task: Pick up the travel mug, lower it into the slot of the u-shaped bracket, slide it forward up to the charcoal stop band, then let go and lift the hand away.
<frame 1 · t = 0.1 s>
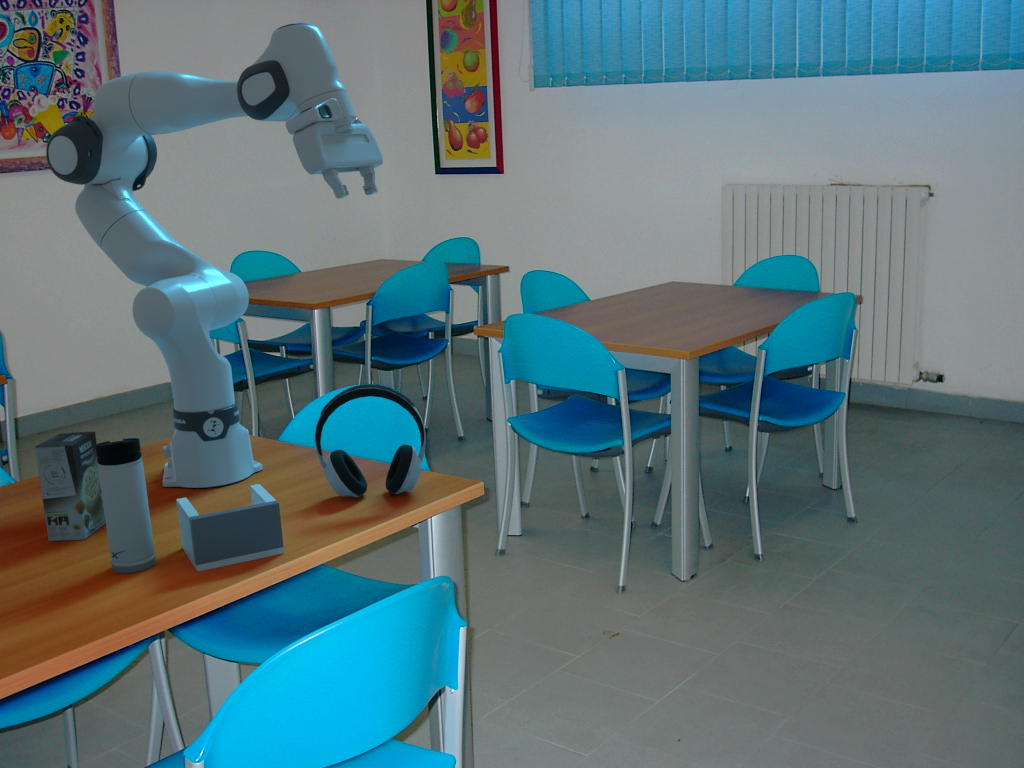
hand: (358, 195, 182), 52 cm above the table, tool tilted 20°, fingers open, 8 cm apart
u-shaped bracket: (232, 550, 168), on the table
headphones: (375, 496, 191), on the table
travel mug: (134, 567, 163), on the table
coffee box: (79, 532, 181), on the table
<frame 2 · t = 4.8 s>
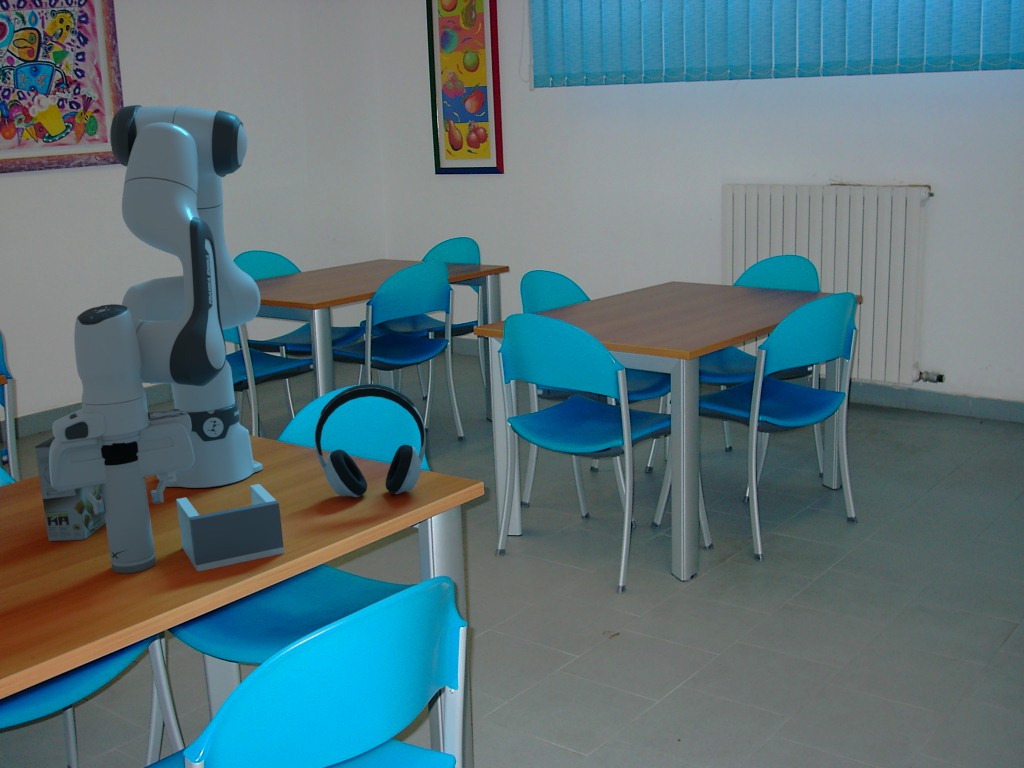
hand: (129, 507, 161), 9 cm above the table, tool pointing down, fingers open, 7 cm apart
travel mug: (134, 567, 163), on the table, touching gripper
everything else where it was.
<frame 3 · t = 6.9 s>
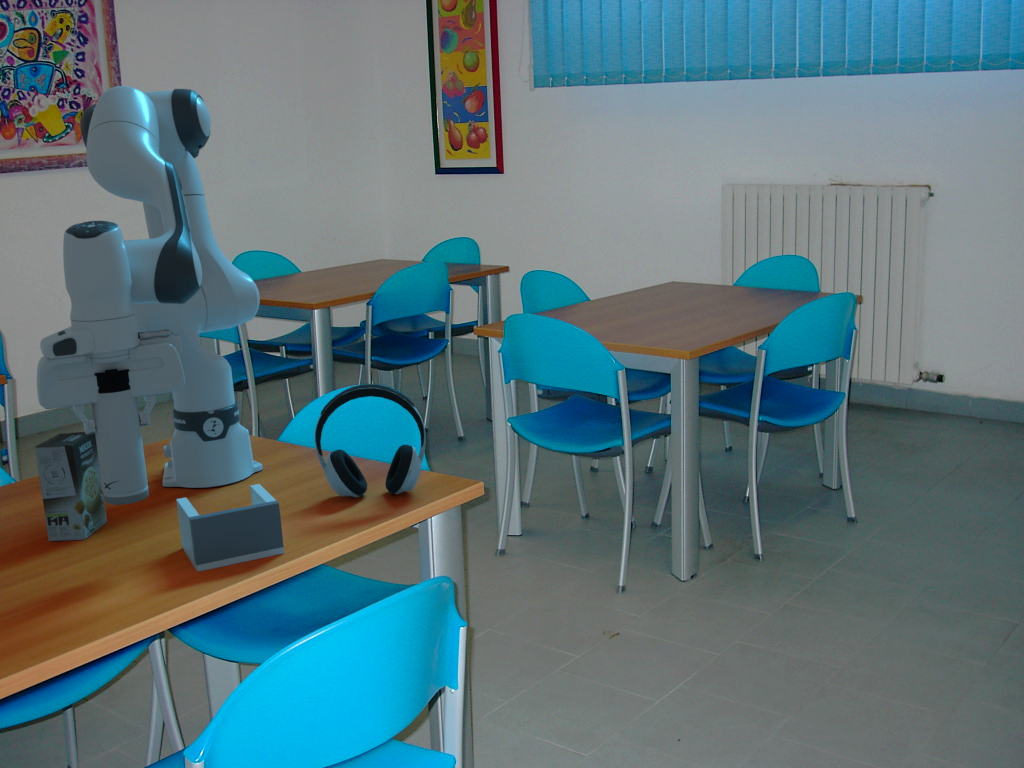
hand: (118, 428, 159), 21 cm above the table, tool pointing down, fingers closed on travel mug, 6 cm apart
travel mug: (127, 500, 161), point 10 cm above the table, touching gripper
everything else where it was.
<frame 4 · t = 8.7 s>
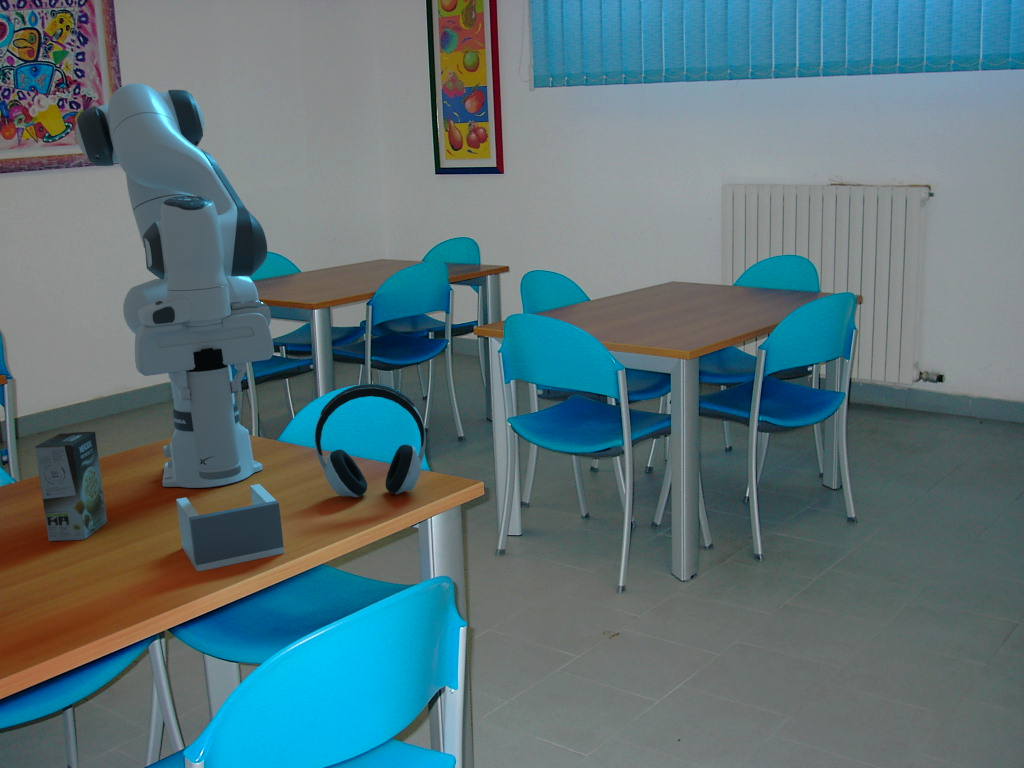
hand: (210, 396, 165), 24 cm above the table, tool pointing down, fingers closed on travel mug, 6 cm apart
travel mug: (220, 476, 168), point 11 cm above the table, touching gripper
everything else where it was.
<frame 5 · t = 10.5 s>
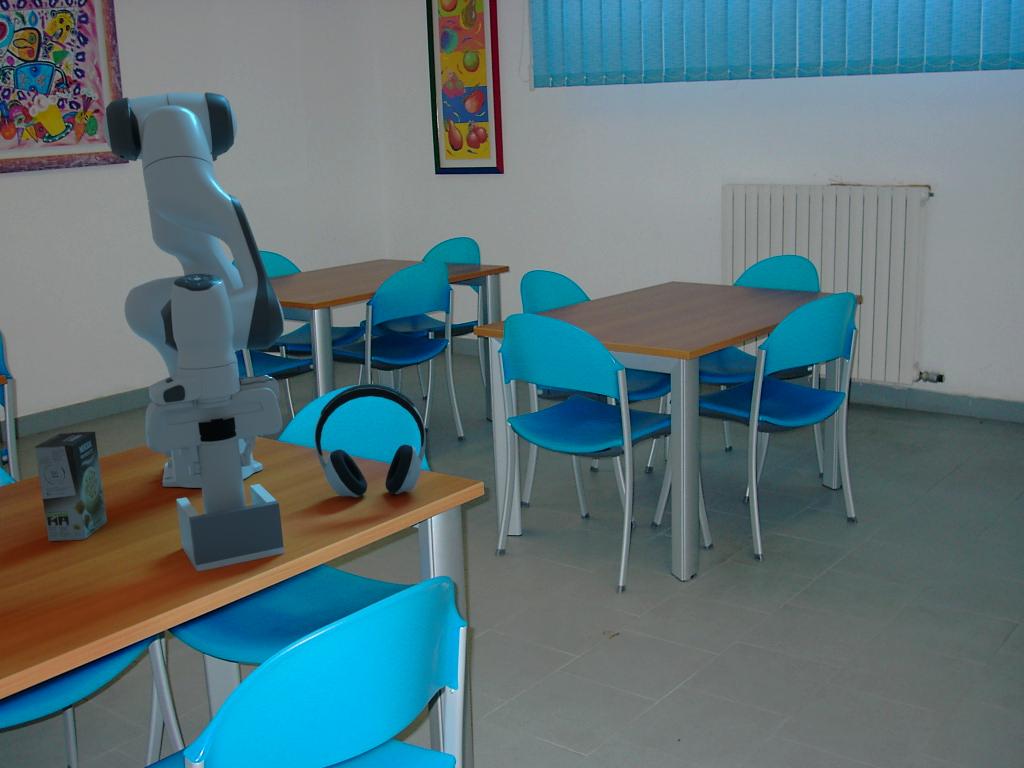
hand: (220, 470, 168), 12 cm above the table, tool pointing down, fingers closed on travel mug, 6 cm apart
travel mug: (229, 541, 170), point 1 cm above the table, touching u-shaped bracket, gripper
everything else where it was.
when the fingers open (11 cm above the table, at t = 12.2 s): travel mug stays where it is, resting on u-shaped bracket.
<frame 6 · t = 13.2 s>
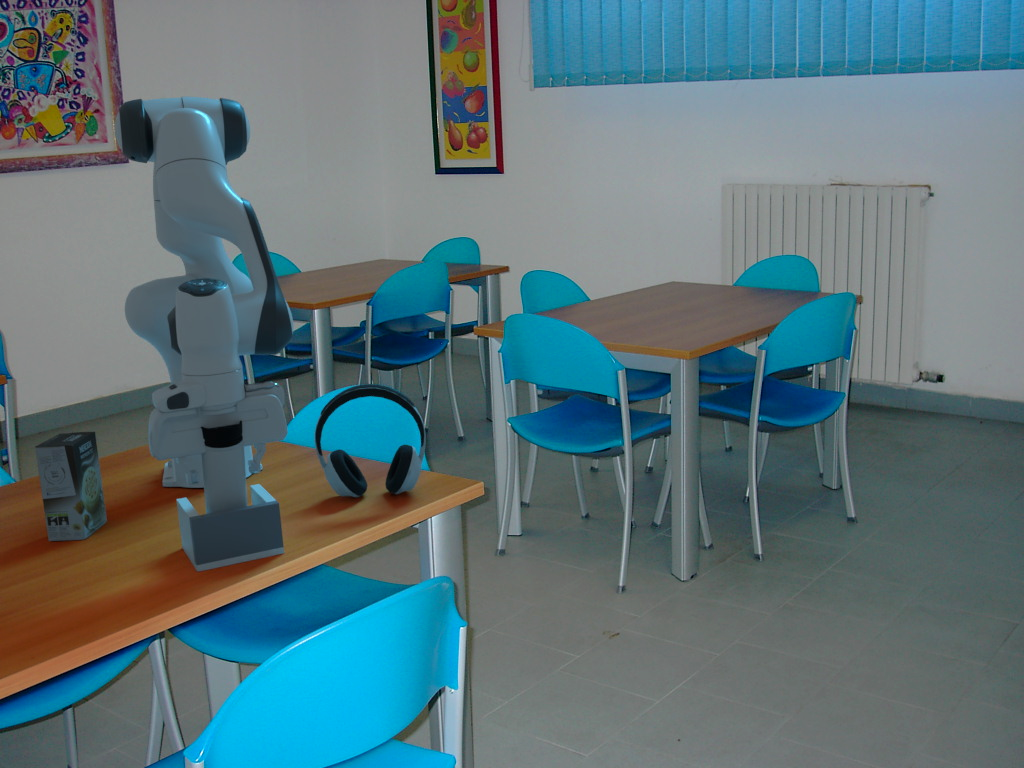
hand: (224, 477, 165), 12 cm above the table, tool pointing down, fingers open, 8 cm apart
travel mug: (229, 537, 169), point 1 cm above the table, touching u-shaped bracket
everything else where it was.
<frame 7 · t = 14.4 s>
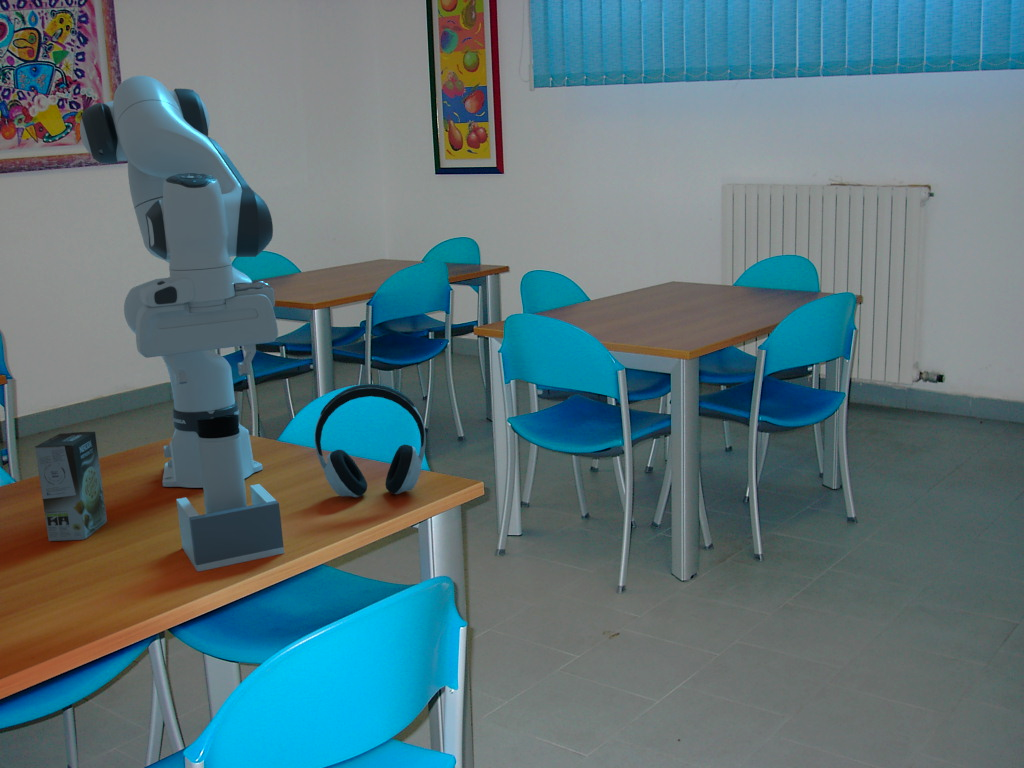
hand: (213, 379, 162), 27 cm above the table, tool pointing down, fingers open, 8 cm apart
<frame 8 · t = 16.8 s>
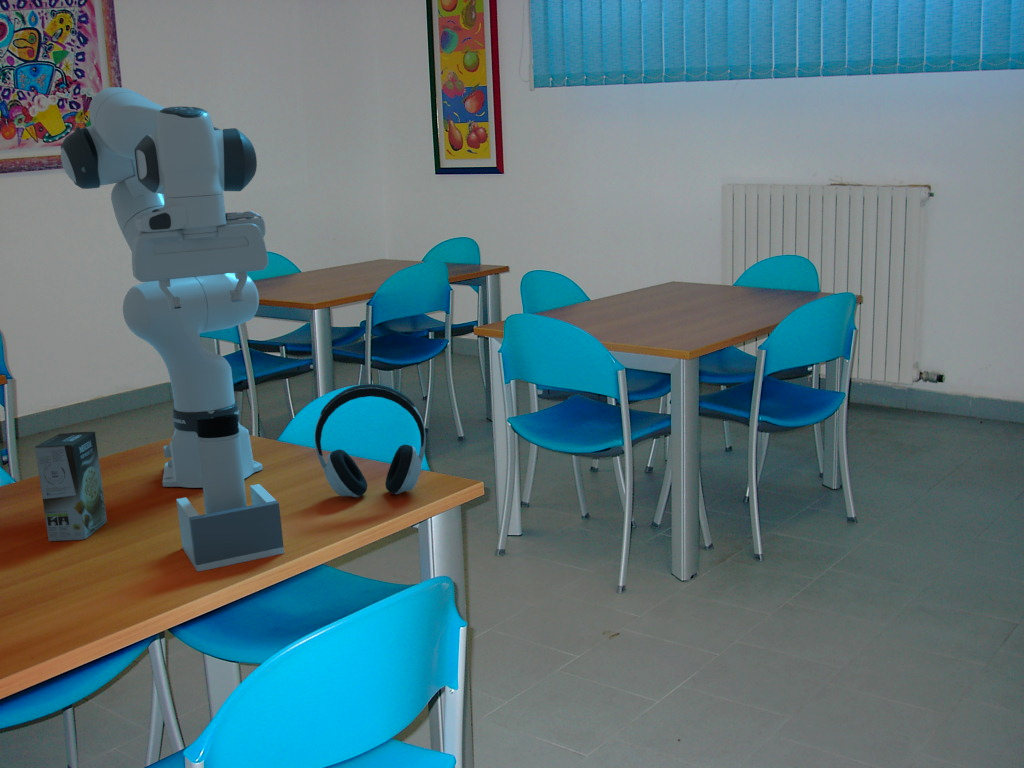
hand: (206, 305, 169), 37 cm above the table, tool pointing down, fingers open, 8 cm apart
at the end: travel mug 2.3 cm off-centre on the u-shaped bracket, point 1.2 cm above the u-shaped bracket's base; travel mug tilted 7°; the gripper is holding nothing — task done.
